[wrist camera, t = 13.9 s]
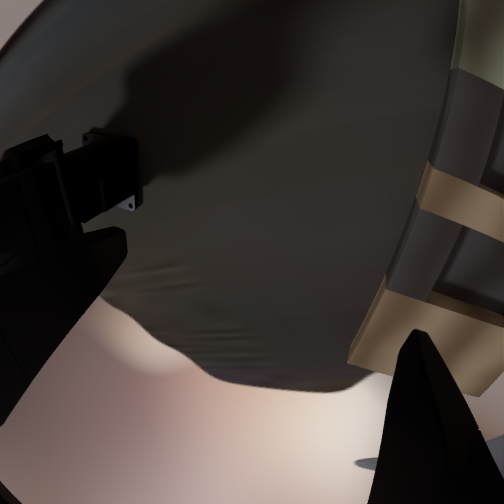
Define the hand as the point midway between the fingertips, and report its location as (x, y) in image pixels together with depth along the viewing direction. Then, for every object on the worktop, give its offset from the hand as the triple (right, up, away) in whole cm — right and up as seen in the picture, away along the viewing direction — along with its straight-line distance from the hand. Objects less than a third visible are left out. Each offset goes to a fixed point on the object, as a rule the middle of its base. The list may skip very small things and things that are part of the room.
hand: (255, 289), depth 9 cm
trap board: (+17, +3, +7) cm, 18 cm away
